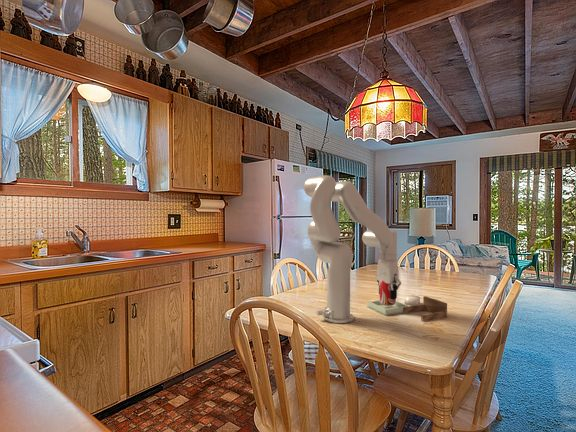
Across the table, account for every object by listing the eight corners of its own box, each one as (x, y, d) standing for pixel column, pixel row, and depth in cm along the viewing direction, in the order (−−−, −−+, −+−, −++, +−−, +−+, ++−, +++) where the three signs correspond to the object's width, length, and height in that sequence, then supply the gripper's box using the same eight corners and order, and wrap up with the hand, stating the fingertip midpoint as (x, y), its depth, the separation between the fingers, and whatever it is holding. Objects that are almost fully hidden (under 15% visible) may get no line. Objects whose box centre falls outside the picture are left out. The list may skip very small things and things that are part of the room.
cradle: (422, 321, 134) (423, 306, 134) (402, 312, 145) (402, 299, 145) (447, 317, 139) (447, 303, 139) (425, 309, 150) (425, 296, 150)
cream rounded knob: (411, 307, 154) (411, 299, 154) (401, 302, 160) (401, 295, 160) (423, 305, 157) (423, 298, 157) (412, 301, 163) (412, 294, 163)
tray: (385, 315, 141) (385, 309, 141) (367, 307, 153) (367, 301, 153) (409, 312, 146) (409, 306, 146) (389, 304, 158) (389, 298, 158)
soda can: (385, 307, 145) (385, 280, 145) (376, 302, 152) (376, 277, 151) (399, 306, 147) (399, 279, 147) (390, 301, 154) (390, 276, 153)
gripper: (369, 255, 155) (369, 292, 156) (394, 260, 139) (393, 302, 140) (382, 254, 158) (382, 291, 159) (408, 259, 142) (407, 300, 143)
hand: (387, 296), depth 149 cm, fingers closed on soda can, 7 cm apart
